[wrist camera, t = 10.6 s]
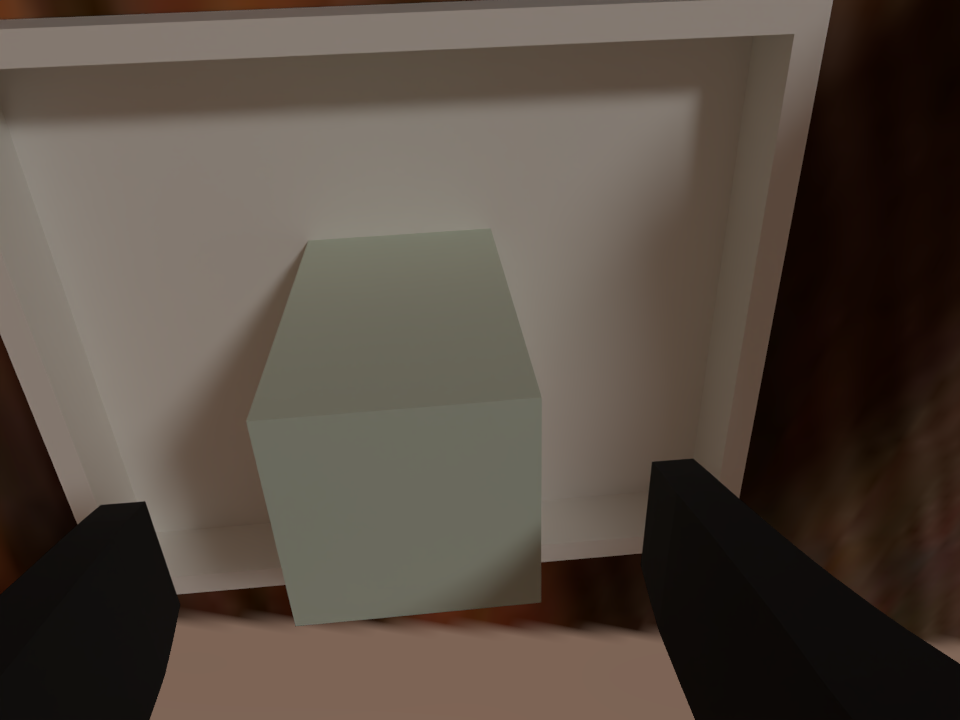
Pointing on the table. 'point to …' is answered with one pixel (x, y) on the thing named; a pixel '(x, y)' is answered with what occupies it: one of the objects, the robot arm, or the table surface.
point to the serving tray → (397, 231)
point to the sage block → (401, 432)
